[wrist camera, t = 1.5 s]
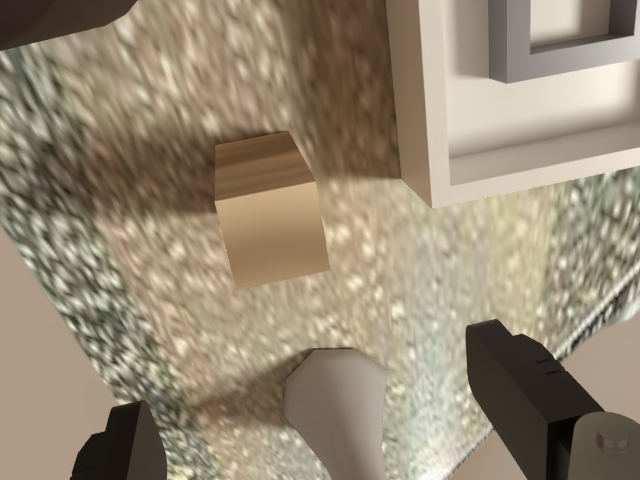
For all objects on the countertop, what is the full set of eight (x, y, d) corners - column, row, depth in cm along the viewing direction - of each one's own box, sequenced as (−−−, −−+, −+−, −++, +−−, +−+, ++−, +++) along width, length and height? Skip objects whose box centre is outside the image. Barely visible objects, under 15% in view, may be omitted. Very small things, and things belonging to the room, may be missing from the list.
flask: (306, 332, 35) (338, 449, 26) (402, 359, 37) (462, 475, 28) (264, 418, 37) (280, 553, 28) (358, 439, 39) (399, 570, 30)
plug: (215, 144, 29) (214, 201, 21) (288, 131, 29) (315, 181, 21) (231, 213, 31) (236, 290, 23) (300, 199, 31) (329, 270, 23)
